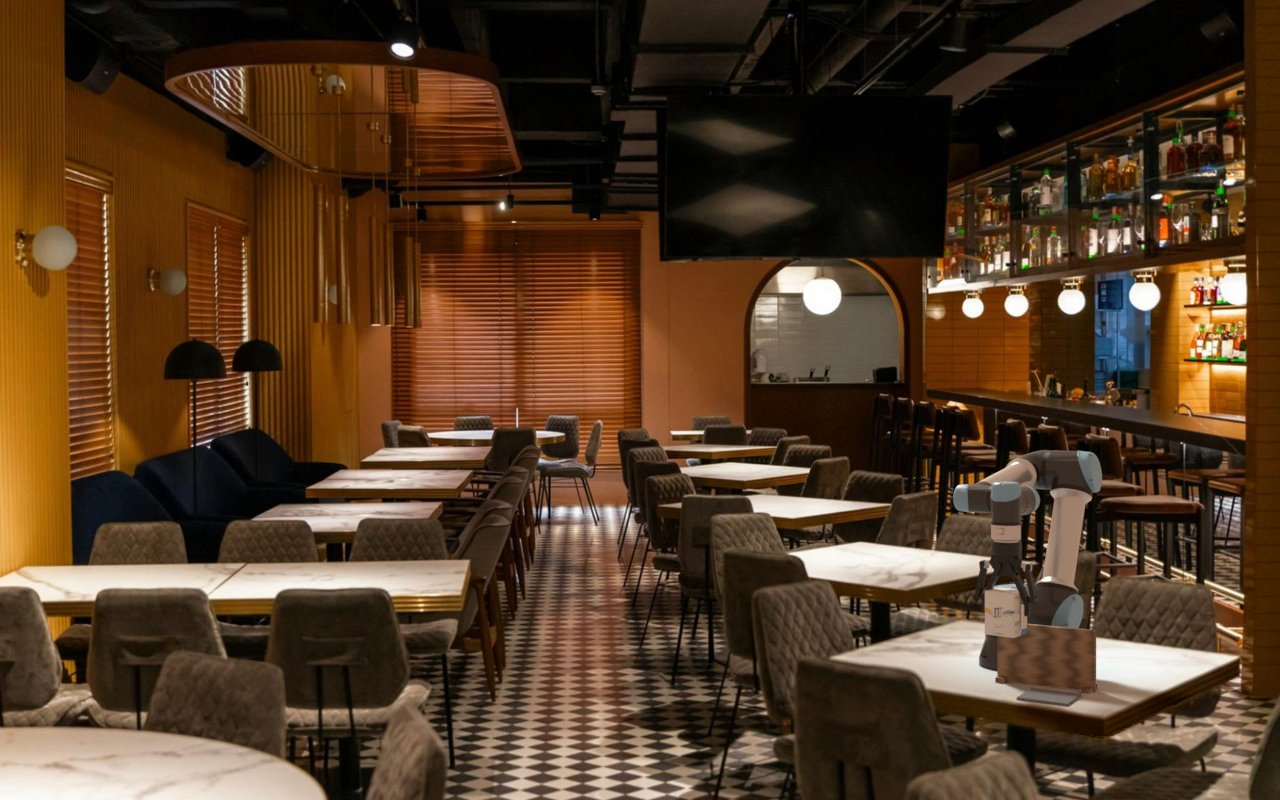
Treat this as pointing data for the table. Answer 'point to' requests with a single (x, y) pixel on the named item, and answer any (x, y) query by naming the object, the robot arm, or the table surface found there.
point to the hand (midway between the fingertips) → (1005, 626)
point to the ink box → (1003, 612)
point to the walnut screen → (1049, 658)
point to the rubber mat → (1049, 696)
